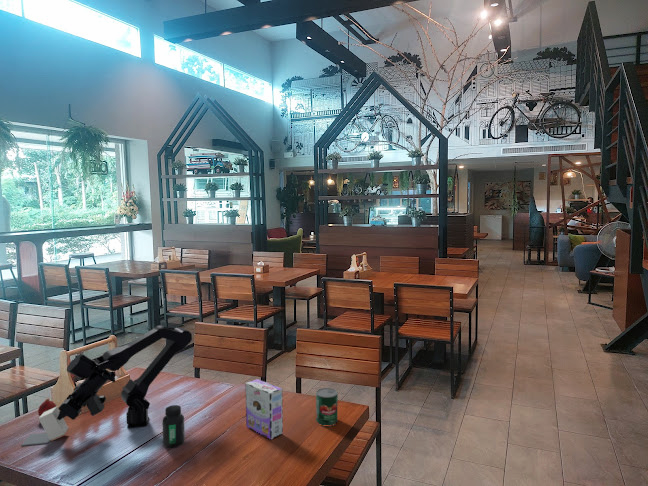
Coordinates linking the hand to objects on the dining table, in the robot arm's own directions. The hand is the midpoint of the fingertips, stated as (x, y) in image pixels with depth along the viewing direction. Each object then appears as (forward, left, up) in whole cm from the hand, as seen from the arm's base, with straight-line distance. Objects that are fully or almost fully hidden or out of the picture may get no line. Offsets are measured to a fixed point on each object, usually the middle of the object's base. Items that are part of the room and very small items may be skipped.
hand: (58, 419), depth 153 cm
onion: (+9, -16, -7) cm, 20 cm away
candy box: (-68, +9, -7) cm, 69 cm away
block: (0, -1, -6) cm, 6 cm away
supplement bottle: (-38, +11, -7) cm, 40 cm away
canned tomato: (-91, +7, -7) cm, 92 cm away
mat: (+7, -1, -7) cm, 10 cm away
